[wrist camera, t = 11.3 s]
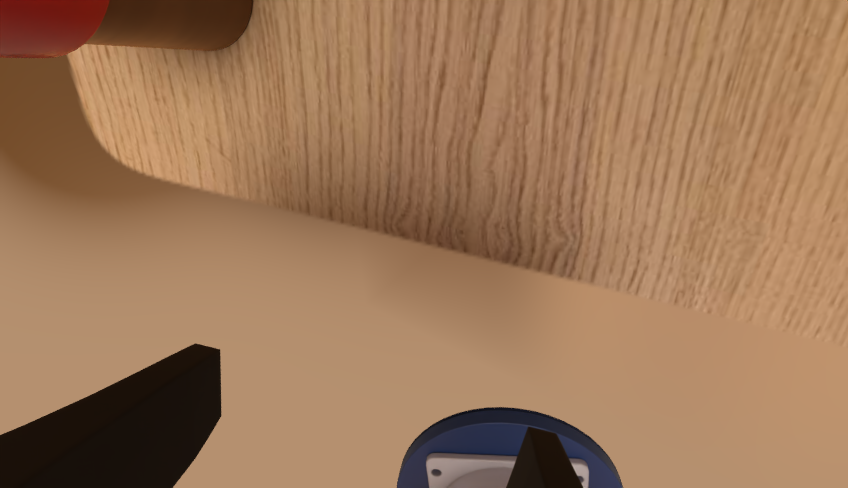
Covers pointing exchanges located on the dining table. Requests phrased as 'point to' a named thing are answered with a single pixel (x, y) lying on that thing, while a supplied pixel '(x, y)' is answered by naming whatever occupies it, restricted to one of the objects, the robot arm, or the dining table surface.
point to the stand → (173, 23)
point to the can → (47, 26)
